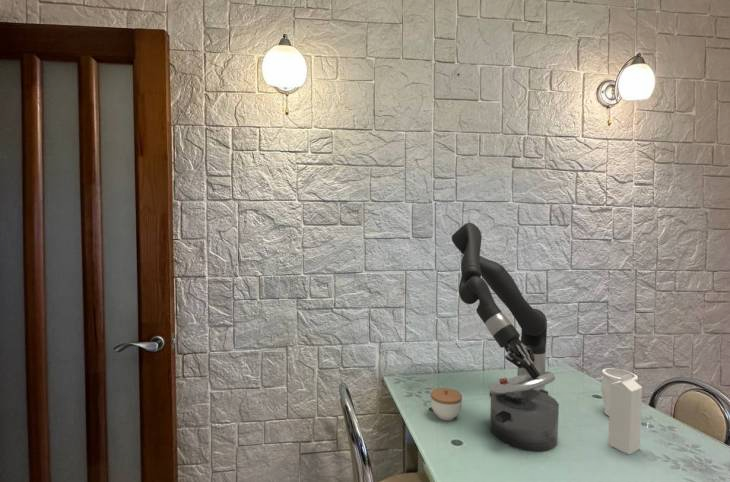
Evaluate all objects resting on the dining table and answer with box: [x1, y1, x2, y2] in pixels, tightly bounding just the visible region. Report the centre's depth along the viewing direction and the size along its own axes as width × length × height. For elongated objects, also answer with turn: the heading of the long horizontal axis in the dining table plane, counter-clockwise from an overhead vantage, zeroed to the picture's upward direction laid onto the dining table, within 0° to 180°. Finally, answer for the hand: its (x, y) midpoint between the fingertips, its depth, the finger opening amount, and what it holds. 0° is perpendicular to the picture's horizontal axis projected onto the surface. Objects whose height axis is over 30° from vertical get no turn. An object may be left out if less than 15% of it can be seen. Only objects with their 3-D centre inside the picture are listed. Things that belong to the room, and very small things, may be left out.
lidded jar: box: [430, 387, 463, 421], centre depth 133 cm, size 11×11×9 cm
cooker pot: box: [489, 389, 560, 453], centre depth 123 cm, size 21×28×11 cm
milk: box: [607, 374, 643, 455], centre depth 115 cm, size 6×6×22 cm
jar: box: [601, 367, 639, 417], centre depth 134 cm, size 11×10×15 cm
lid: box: [488, 371, 556, 395], centre depth 123 cm, size 20×20×3 cm
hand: (536, 377), depth 119 cm, fingers closed
